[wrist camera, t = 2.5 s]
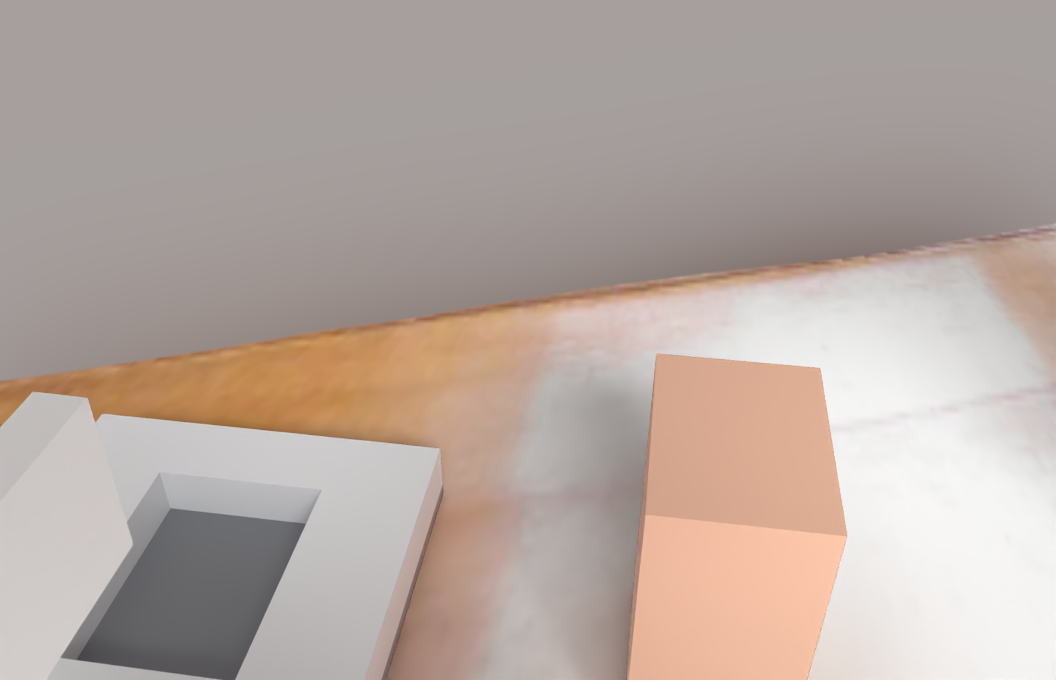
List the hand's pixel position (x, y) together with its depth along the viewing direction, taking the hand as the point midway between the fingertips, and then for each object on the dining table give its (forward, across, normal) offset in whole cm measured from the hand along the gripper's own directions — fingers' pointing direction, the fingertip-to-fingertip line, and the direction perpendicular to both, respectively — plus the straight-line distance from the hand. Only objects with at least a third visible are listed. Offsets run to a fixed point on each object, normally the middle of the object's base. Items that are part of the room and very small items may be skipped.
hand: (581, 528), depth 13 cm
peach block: (+13, +4, -20) cm, 24 cm away
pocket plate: (+13, -14, -20) cm, 27 cm away
